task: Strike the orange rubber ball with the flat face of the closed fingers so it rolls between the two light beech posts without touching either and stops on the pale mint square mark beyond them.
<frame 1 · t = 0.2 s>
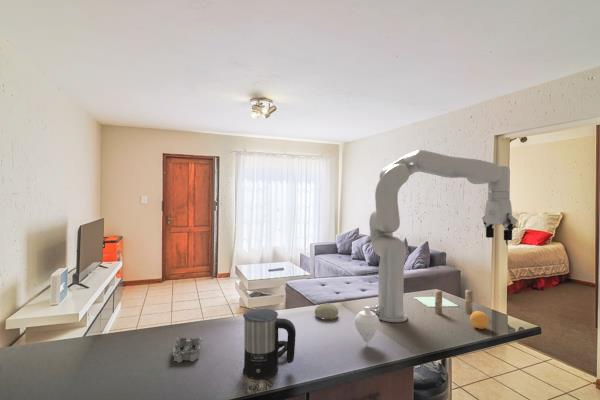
hand: (498, 238, 130), 31 cm above the counter, tool pointing down, fingers open, 9 cm apart
egg carton: (188, 355, 93), on the counter
left post: (438, 313, 131), on the counter
spinning top: (366, 346, 100), on the counter
ball: (479, 319, 115), on the counter
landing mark: (434, 301, 146), on the counter
milk frother: (267, 364, 88), on the counter
sea urchin shell: (326, 317, 125), on the counter
right post: (468, 312, 132), on the counter
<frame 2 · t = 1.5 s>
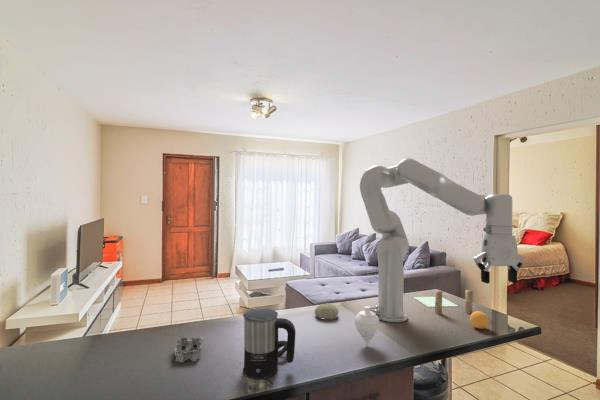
hand: (498, 282, 107), 19 cm above the counter, tool pointing down, fingers open, 9 cm apart
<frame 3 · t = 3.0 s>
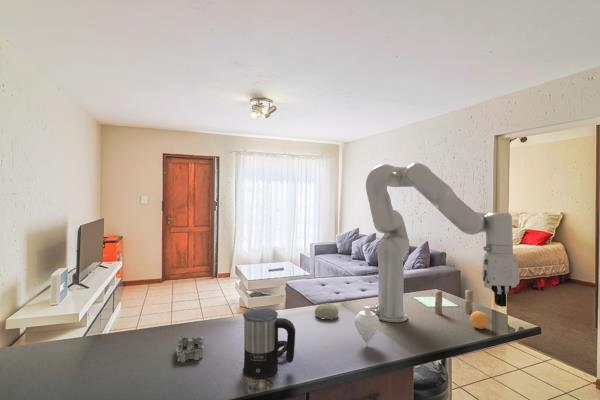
hand: (500, 305, 106), 11 cm above the counter, tool pointing down, fingers closed
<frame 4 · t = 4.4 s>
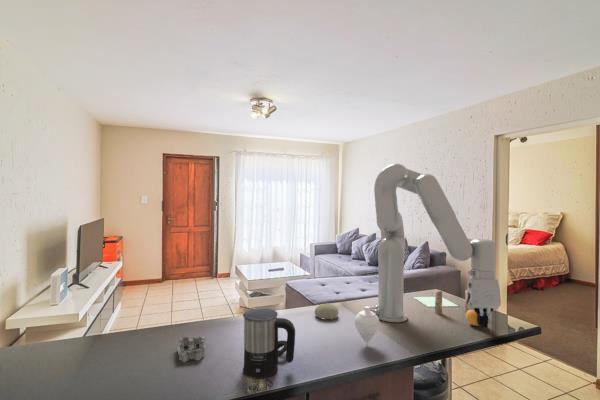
hand: (482, 325, 114), 1 cm above the counter, tool pointing down, fingers closed
ball: (474, 317, 118), on the counter
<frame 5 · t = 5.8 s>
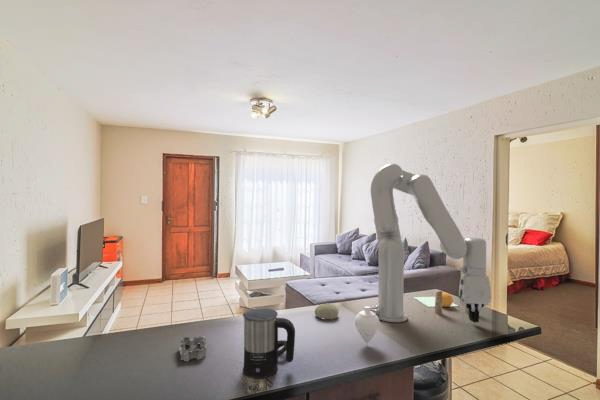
hand: (473, 321, 118), 2 cm above the counter, tool pointing down, fingers closed
ball: (445, 299, 140), on the counter
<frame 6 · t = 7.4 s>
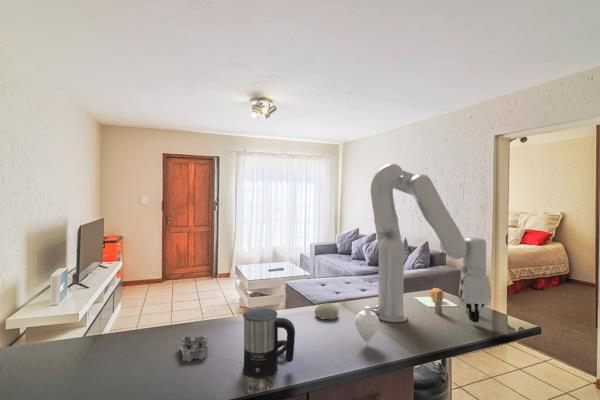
hand: (473, 321, 118), 2 cm above the counter, tool pointing down, fingers closed
ball: (436, 294, 147), on the counter
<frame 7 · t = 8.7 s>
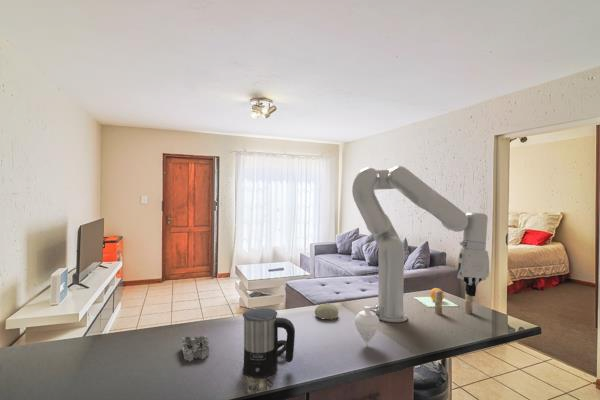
hand: (470, 295, 119), 11 cm above the counter, tool pointing down, fingers closed
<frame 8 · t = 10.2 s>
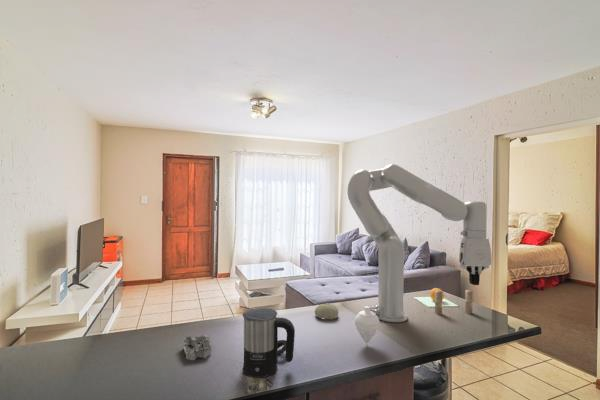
hand: (474, 284, 119), 15 cm above the counter, tool pointing down, fingers closed
at the end: ball 1.3 cm from the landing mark (horizontally); ball never touched left post; ball never touched right post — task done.
